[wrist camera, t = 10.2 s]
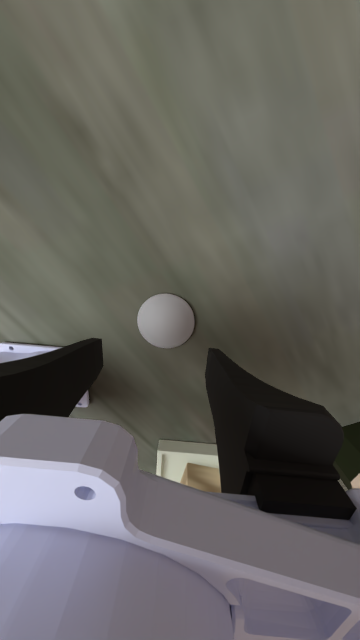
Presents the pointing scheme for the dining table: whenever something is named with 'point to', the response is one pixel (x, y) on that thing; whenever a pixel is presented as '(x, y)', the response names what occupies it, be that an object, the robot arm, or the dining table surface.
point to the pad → (166, 320)
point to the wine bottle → (349, 457)
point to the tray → (183, 457)
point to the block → (202, 478)
